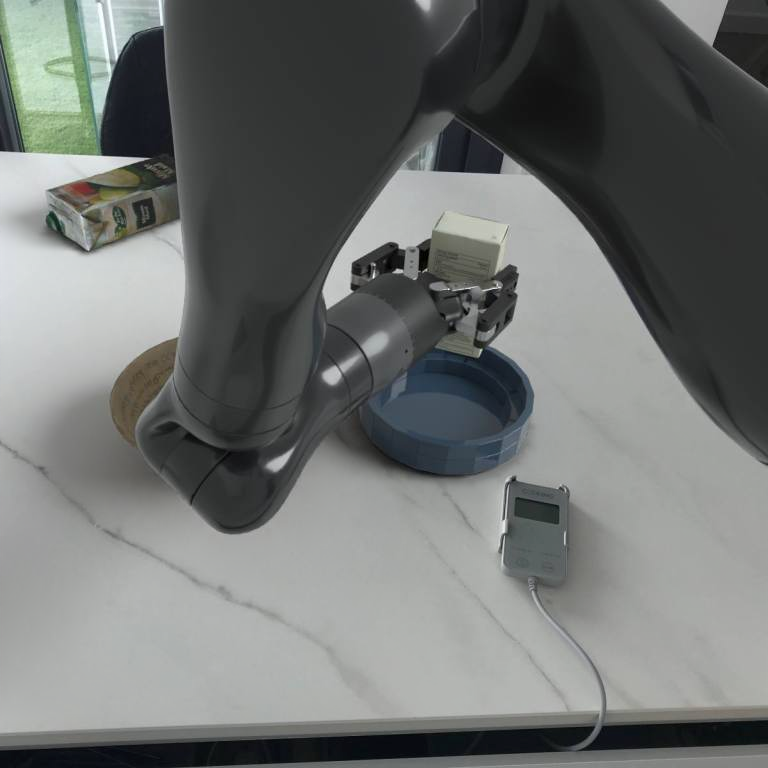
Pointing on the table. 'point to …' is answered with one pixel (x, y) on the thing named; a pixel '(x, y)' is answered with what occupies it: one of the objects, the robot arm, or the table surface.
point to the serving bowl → (452, 413)
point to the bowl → (140, 386)
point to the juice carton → (115, 202)
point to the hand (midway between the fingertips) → (475, 259)
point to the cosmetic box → (466, 260)
